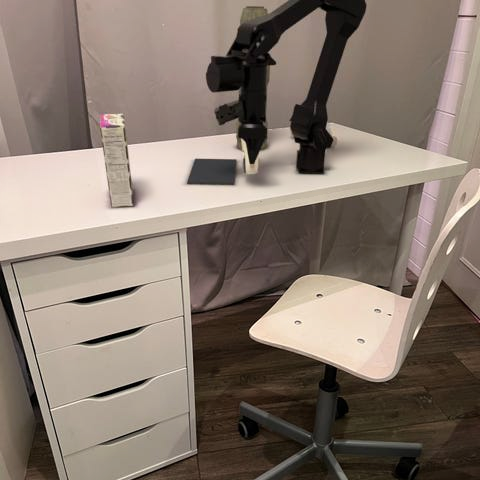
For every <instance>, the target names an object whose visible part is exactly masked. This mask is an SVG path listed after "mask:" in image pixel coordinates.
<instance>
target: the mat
mask: <svg viewBox="0 0 480 480" xmlns="http://www.w3.org/2000/svg"><path fill="white" fill-rule="evenodd" d="M236 170H237V159H236V158H194V160H193V163H192V167H191V169H190V172H189V175H188V177H187V181H186V184H187V185H208V186H209V185H211V186H212V185H213V186H216V185H217V186H219V185H220V186H235V181H236V172H237V171H236Z"/></svg>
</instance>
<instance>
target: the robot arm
mask: <svg viewBox="0 0 480 480" xmlns="http://www.w3.org/2000/svg"><path fill="white" fill-rule="evenodd" d="M367 6H368V5H367V3H366V0H287V1H286V2H284V3H283V4H281V5H280V6H278V7H277V8H275V9H273V10H272V11H271V12H270V13H268V14H267V15H264V16H260V17H257V18H254V19H251V20H249V21H247V22H244V23H242V24H241V25H240V24H239V26H238V28H237V29H236V31H237V32H236V36H235V39H234V40H233V41H232V43H231V45H230V47H229V49H228V50H227V53H226V54H225V55H222V56H221V55H211V56H210V63H209V64H208V65H207V68H206V72H205V81H206V85H207V88H208V90H209V91H210V92H211V93H213V94H214V93H224V92H235V91H239V89H240V94H239V93H238V99H235V100H234V101H230V102H225V103H224V104H219V106H217V107H215V108H214V110H213V113H214V115H215V119H216V121H217V123H218V126H224V125H225V124H226V123H229V122H232V121H234V120H238V121H239V122H240V124H239V125H238V138H242V139H243V140H244V141H245V143H246V147H247V153H248V158H249V163H250V164H254V163H255V161H256V159H257V156H258V154H259V155H260V152H261V151H260V149H261V147H262V145H263V142H264V140H265V139H266V138H267V139H268V132H267V130H268V129H269V128H268V129H267V125H266V124H265V123H266V119H267V109H266V101H267V102H268V94H267V95H266V91H267V92H268V85H267V66H270V67H271V66H276V65H277V61H276V60H275V59H274V58H273V57H272V56H271V54H270V53H269V52H270V51H271V50H272V49H273V48H274V47H276V45H277V44H278V43H279V42H280V39H281V38H282V36H283V34H284V33H285V32H286V31H288V30H289V29H291V28H292V27H293V26H294V25H296V24H297V23H299V22H300V21H302V20H303V19H305V18H306V17H307V16H309V15H310V14H312V13H313V12H315V11H316V10H317V9H320V10H321V11H323V12H325V18H324V21H325V29H326V35H325V38H324V40H323V44H322V48H321V51H320V54H319V57H318V61H317V64H316V67H315V69H314V73H313V77H312V79H311V83H310V86H309V88H308V92H307V95H306V98H305V100H304V101H303V102H302V103H301V104H298V103H295V105H294V106H293V111H292V115H291V117H290V118H289V122H290V125H289V129H290V133H291V132H292V134H293V139H294V144H299V147H298V149H296V154H295V155H296V156H295V168H296V170H297V172H298V174H314V175H315V174H317V175H318V174H320V175H324V174H326V172H325V161H326V151H327V150H328V149H331V148H332V143H333V138H332V136H333V135H332V136H331V135H330V134H329V132H328V131H327V130H326V125H327V122H328V120H329V116H328V110H327V109H328V108H327V103H328V101H329V98H330V95H331V92H332V88H333V86H334V82H335V80H336V76H337V74H338V70H339V67H340V65H341V62H342V58H343V55H344V52H345V49H346V46H347V43H348V41H349V39H350V38H351V37H352V36H353V34H354V33H355V32H356V31H357V30H358V29H359V27H360V25H361V23H362V21H363V19H364V16H365V14H366V11H367ZM260 55H261V56H260ZM259 56H260V57H259ZM244 61H245V62H244Z"/></svg>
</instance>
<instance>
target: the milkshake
mask: <svg viewBox="0 0 480 480" xmlns="http://www.w3.org/2000/svg"><path fill="white" fill-rule="evenodd" d="M241 142H242V150H241V151H242V153H241V154H242V166H243V174H245V175H255V174H258V172H259V171H258V169H259V159H260V153H259V154H258V156H257V159H256V161H255V163H254V164H250V163H249V158H248V153H247V147H246V143H245V141H244V140H243V139H242V138H241Z"/></svg>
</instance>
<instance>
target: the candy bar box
mask: <svg viewBox="0 0 480 480" xmlns="http://www.w3.org/2000/svg"><path fill="white" fill-rule="evenodd" d="M99 121H100V123H99V124H100V125H99V130H100V136H101V144H102V145H101V146H102V151H103V160H104V165H105V172H106V179H107V187H108V195H109V202H110V207H111V208H113V209H114V208H115V209H118V208H128V207H135V204H134V203H135V202H134V190H133V183H132V173H131V162H130V156H129V155H130V154H129V147H128V137H127V129H126V122H125V115H124V113H109V114H108V113H104V114H100V120H99Z"/></svg>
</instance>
